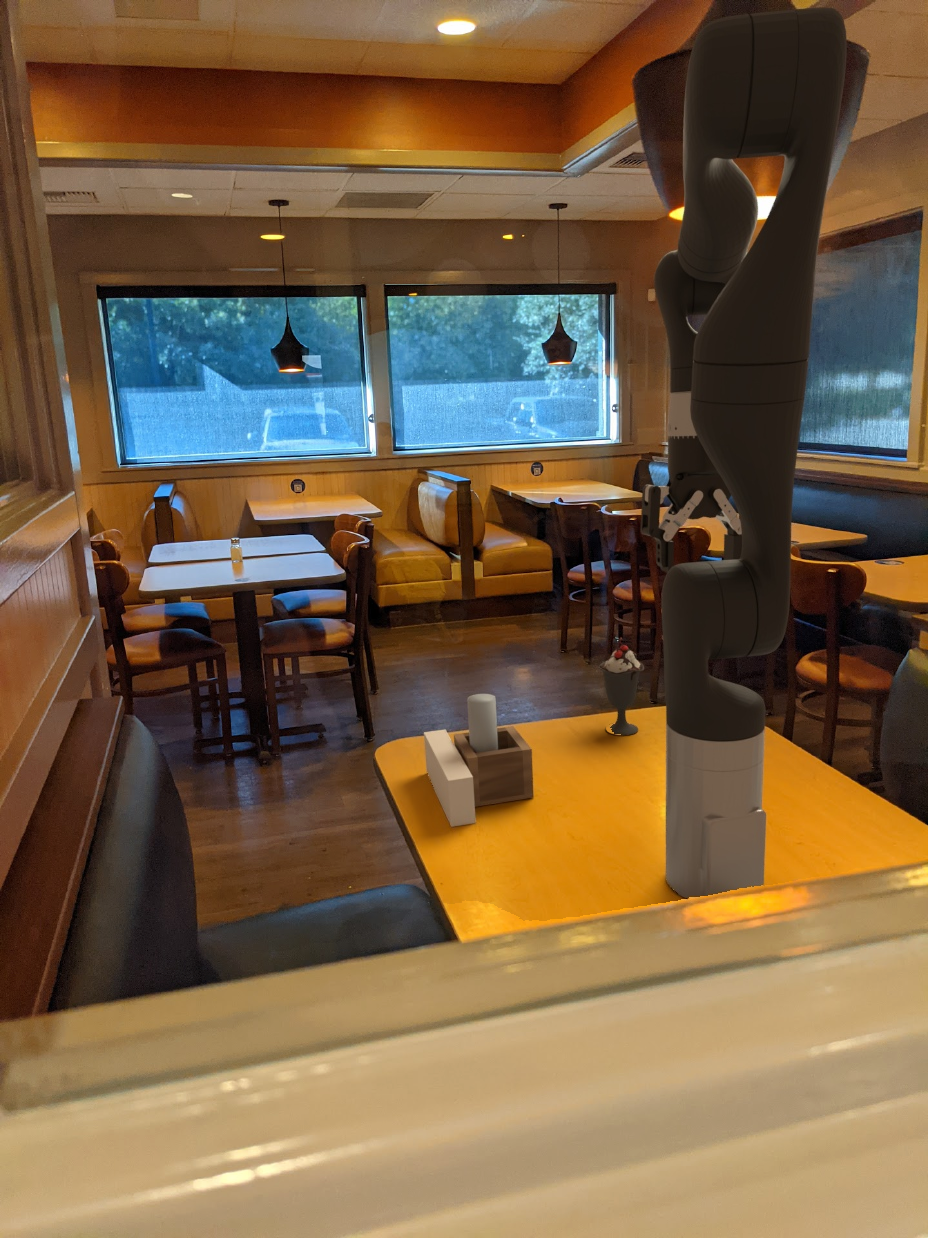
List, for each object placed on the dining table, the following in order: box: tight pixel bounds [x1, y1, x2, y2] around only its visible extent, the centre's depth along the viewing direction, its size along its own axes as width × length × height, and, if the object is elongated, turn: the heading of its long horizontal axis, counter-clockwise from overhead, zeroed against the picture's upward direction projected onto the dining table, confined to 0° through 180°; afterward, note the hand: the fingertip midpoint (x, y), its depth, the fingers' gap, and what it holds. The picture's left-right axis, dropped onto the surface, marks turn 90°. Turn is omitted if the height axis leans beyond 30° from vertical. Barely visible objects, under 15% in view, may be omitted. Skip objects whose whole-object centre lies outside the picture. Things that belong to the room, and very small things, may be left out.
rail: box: [423, 729, 477, 828], centre depth 106 cm, size 16×3×6 cm, turn 13°
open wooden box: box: [453, 725, 535, 808], centre depth 108 cm, size 8×8×7 cm
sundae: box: [598, 637, 645, 737], centre depth 124 cm, size 7×7×15 cm
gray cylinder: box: [466, 693, 498, 753], centre depth 106 cm, size 4×4×12 cm
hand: (699, 567), depth 101 cm, fingers open, 8 cm apart
